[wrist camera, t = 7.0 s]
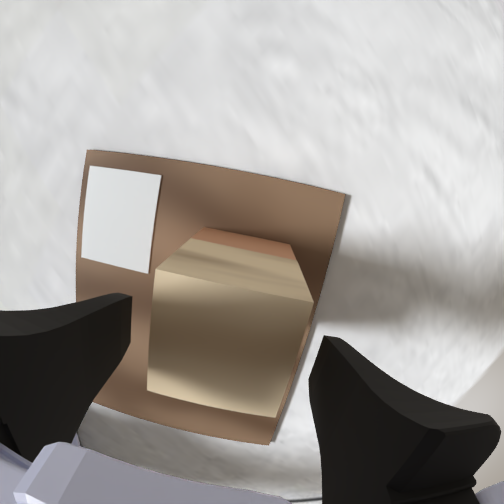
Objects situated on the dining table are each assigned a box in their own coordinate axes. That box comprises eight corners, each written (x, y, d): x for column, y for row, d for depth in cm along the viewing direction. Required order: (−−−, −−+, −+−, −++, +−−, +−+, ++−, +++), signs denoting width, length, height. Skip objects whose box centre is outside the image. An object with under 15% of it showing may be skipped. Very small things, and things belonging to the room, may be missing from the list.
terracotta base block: (271, 322, 19) (272, 351, 15) (191, 305, 19) (177, 332, 15) (289, 244, 18) (296, 260, 14) (203, 226, 18) (190, 238, 14)
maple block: (272, 351, 15) (275, 417, 11) (177, 331, 15) (146, 390, 10) (296, 260, 14) (313, 302, 9) (190, 238, 14) (155, 268, 9)
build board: (268, 442, 22) (268, 446, 21) (87, 396, 22) (84, 399, 21) (343, 194, 17) (345, 194, 17) (90, 149, 17) (86, 149, 16)
